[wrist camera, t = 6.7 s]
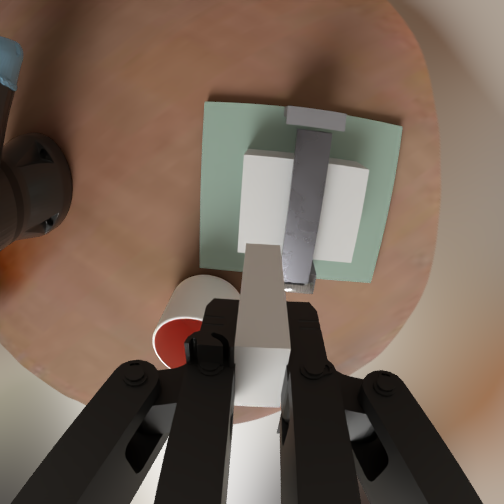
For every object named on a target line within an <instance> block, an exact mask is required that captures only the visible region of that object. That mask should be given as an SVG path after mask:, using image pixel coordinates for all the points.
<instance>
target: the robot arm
mask: <svg viewBox="0 0 504 504" xmlns="http://www.w3.org/2000/svg"><path fill="white" fill-rule="evenodd" d="M22 61H23V49H22V47H21V46H20V44H19V43H17V42H16V41H13V40H11V39H8V38H5V37H1V36H0V251H1V250H2V249H4V248H5V247H6V246H8V245H9V244H11V243H12V242H14V241H15V240H21V239H27V238H33V237H40V236H43V235H45V234H47V233H49V232H50V231H52V230H53V229H55V228H56V227H58V226H59V225H60V224H61V223H62V221H63V220H64V219H65V217H66V215H67V213H68V210H69V207H70V203H71V197H72V181H71V174H70V170H69V166H68V163H67V161H66V158H65V156H64V154H63V153H62V151H61V149H60V148H59V147H58V145H57V144H56V143H55V142H54V141H53V140H52V139H50V138H49V137H47V136H45V135H43V134H40V133H28V134H24V135H20V136H17V137H15V138H13V139H12V140H10V141H9V142H8V143H6V144H5V145H4V146H3V144H4V138H5V132H6V127H7V121H8V117H9V112H10V108H11V104H12V100H13V97H14V93H15V91H16V90H17V80H18V76H19V72H20V68H21V64H22ZM184 347H185V356H186V364H184V365H182V366H180V367H177V368H173V369H166V370H157V369H156V368H155V366H154V365H152V364H151V363H149V362H147V361H142V360H132V361H128V362H126V363H123V364H121V365H120V366H119V367H118V368H117V369H116V370H115V371H114V372H113V373H112V375H111V376H110V377H109V378H108V379H107V381H106V382H105V383H104V384H103V386H102V387H101V388H100V389H99V390H98V392H97V393H96V394H95V395H94V397H93V398H92V399H91V400H90V402H89V403H88V404H87V405H86V407H85V408H84V409H83V410H82V412H81V413H80V414H79V416H78V417H77V418H76V419H75V420H74V422H73V423H72V424H71V425H70V427H69V428H68V429H67V430H66V432H65V433H64V434H63V436H62V437H61V438H60V439H59V441H58V442H57V443H56V445H55V446H54V447H53V449H52V450H51V451H50V452H49V454H48V455H47V456H46V458H45V459H44V460H43V461H42V463H41V464H40V465H39V467H38V468H37V469H36V471H35V472H34V473H33V475H32V476H31V477H30V478H29V480H28V481H27V482H26V484H25V485H24V487H23V488H22V489H21V491H20V492H19V493H18V495H17V496H16V497H15V499H14V500H13V501H12V503H11V504H130V503H131V501H132V499H133V497H134V496H135V494H136V492H137V491H138V489H139V487H140V485H141V484H142V481H143V480H144V478H145V477H146V475H147V473H148V471H149V470H150V468H151V466H152V464H153V463H154V461H155V459H156V457H157V456H158V454H159V452H160V450H161V449H162V447H163V445H164V443H165V441H166V440H167V438H168V436H169V438H168V442H167V447H166V451H165V455H164V459H163V464H162V468H161V473H160V477H159V482H158V486H157V491H156V496H155V501H154V504H226V499H227V487H228V476H229V464H230V452H231V440H232V427H233V409H234V405H237V406H253V407H280V404H281V417H280V422H279V426H278V430H277V433H280V465H281V504H361V500H360V493H359V487H358V481H357V476H358V479H359V481H360V483H361V485H362V487H363V489H364V492H365V494H366V496H367V498H368V500H369V502H370V504H483V503H482V501H481V500H480V498H479V496H478V495H477V493H476V491H475V490H474V488H473V486H472V485H471V483H470V482H469V480H468V478H467V477H466V475H465V474H464V472H463V471H462V469H461V467H460V466H459V464H458V463H457V461H456V459H455V458H454V456H453V455H452V453H451V452H450V450H449V449H448V447H447V445H446V444H445V443H444V441H443V440H442V438H441V436H440V435H439V433H438V432H437V430H436V429H435V427H434V426H433V425H432V423H431V421H430V420H429V419H428V417H427V416H426V414H425V413H424V411H423V410H422V408H421V407H420V405H419V404H418V402H417V401H416V399H415V398H414V397H413V395H412V394H411V392H410V391H409V389H408V388H407V387H406V385H405V384H404V382H403V381H402V380H401V379H400V378H399V377H398V376H397V375H395V374H392V373H391V372H388V371H383V370H380V371H373V372H371V373H369V374H368V375H367V376H366V377H365V378H364V379H359V378H354V377H350V376H347V375H344V374H341V373H340V372H338V371H336V369H335V367H334V365H333V364H332V363H331V362H329V361H328V359H327V356H326V351H325V346H324V342H323V337H322V332H321V330H320V324H319V319H318V315H317V311H316V310H315V308H314V307H313V306H312V305H311V304H310V303H309V302H287V301H286V295H285V286H284V276H283V267H282V259H281V250H280V245H267V244H250V243H246V249H245V257H244V266H243V275H242V283H241V292H240V300H234V299H219V298H214V299H213V300H212V301H211V302H210V303H209V304H208V305H207V306H206V309H205V313H204V317H203V320H202V325H201V328H200V331H197V332H194V333H192V334H191V335H190V336H188V337H187V339H186V340H185V342H184Z"/></svg>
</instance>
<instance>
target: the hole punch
mask: <svg viewBox="0 0 504 504" xmlns="http://www.w3.org/2000/svg"><path fill="white" fill-rule="evenodd" d="M297 128H299V129H307V130H315V131H322V132H329V133H332V141H331V149H330V156H329V163H328V170H327V177H326V183H325V190H324V196H323V203H322V209H321V215H320V221H319V226H318V232H317V238H316V243H315V249H314V254H313V260H312V265H311V270H310V275H309V280H308V282H310V283H314V285H315V280H316V279H327V280H339V281H352V282H365V283H371V280H372V276H373V272H374V269H375V265H376V261H377V257H378V253H379V249H380V245H381V241H382V237H383V233H384V228H385V224H386V219H387V215H388V210H389V205H390V200H391V195H392V190H393V185H394V179H395V174H396V168H397V162H398V156H399V149H400V142H401V135H402V126H397V125H393V124H389V123H384V122H379V121H375V120H370V119H365V118H359V117H354V116H348V115H347V114H345V113H339V112H333V111H326V110H319V109H312V108H304V107H296V106H286V107H284V106H273V105H262V104H248V103H229V102H205V105H204V122H203V142H202V165H201V197H200V268H208V269H218V270H228V271H238V272H243V266H244V257H245V249H246V243H250V244H267V245H280V250H281V258H282V250H283V243H284V235H285V227H286V219H287V211H288V203H289V195H290V187H291V178H292V169H293V160H294V151H295V142H296V133H297Z"/></svg>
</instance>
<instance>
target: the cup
mask: <svg viewBox="0 0 504 504" xmlns="http://www.w3.org/2000/svg"><path fill="white" fill-rule="evenodd" d="M214 298H219V299H234V300H240V294H239V292H238V291H237V290H236V289H235V288H234V286H232V285H231V284H230V283H229V282H227V281H226V280H224V279H222V278H219V277H216V276H212V275H196V276H192V277H189V278H187V279H185V280H184V281H182V282H181V283H180V284H179V285H178V286H177V287H176V289H175V290H174V292H173V294H172V296H171V298H170V300H169V302H168V304H167V306H166V308H165V310H164V312H163V314H162V316H161V318H160V320H159V323H158V325H157V327H156V329H155V331H154V333H153V340H152V342H153V347H154V350H155V353H156V354H157V356H158V358H159V359H160V360H161V361H162V362H163V363H164V364H165V365H166V366H167V367H168V368H170V369H173V368H177V367H180V366H182V365H184V364H186V356H185V347H184V342H185V340H186V339H187V337H188V336H190V335H191V334H192V333H194V332H197V331H200V328H201V325H202V320H203V317H204V313H205V309H206V306H207V305H208V304H209V303H210V302H211V301H212V300H213V299H214Z"/></svg>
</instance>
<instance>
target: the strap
mask: <svg viewBox="0 0 504 504" xmlns="http://www.w3.org/2000/svg"><path fill="white" fill-rule="evenodd" d="M331 141H332V133H329V132H322V131H315V130H307V129H299V128H297V133H296V142H295V151H294V160H293V169H292V178H291V187H290V195H289V203H288V211H287V219H286V227H285V235H284V243H283V250H282V258H281V259H282V267H283V276H284V286H285V292H293V293H305V294H313V290H314V283H310V282H308V280H309V275H310V270H311V265H312V260H313V254H314V249H315V243H316V238H317V232H318V226H319V221H320V215H321V209H322V203H323V196H324V190H325V183H326V177H327V170H328V163H329V156H330V149H331Z"/></svg>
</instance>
